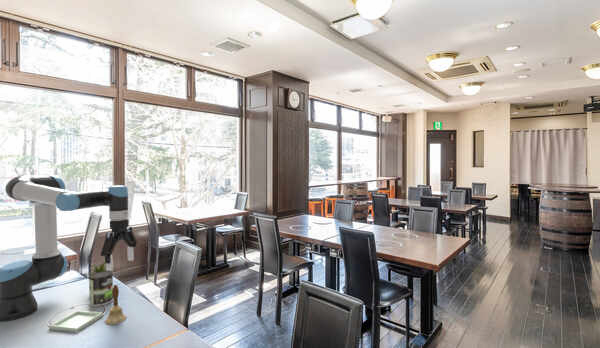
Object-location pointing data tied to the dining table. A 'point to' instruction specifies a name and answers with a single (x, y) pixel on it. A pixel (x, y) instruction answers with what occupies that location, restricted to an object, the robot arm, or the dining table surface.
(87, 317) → the tray
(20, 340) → the dining table surface
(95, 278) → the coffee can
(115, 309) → the hand bell
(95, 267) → the house plant
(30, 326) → the dining table surface
